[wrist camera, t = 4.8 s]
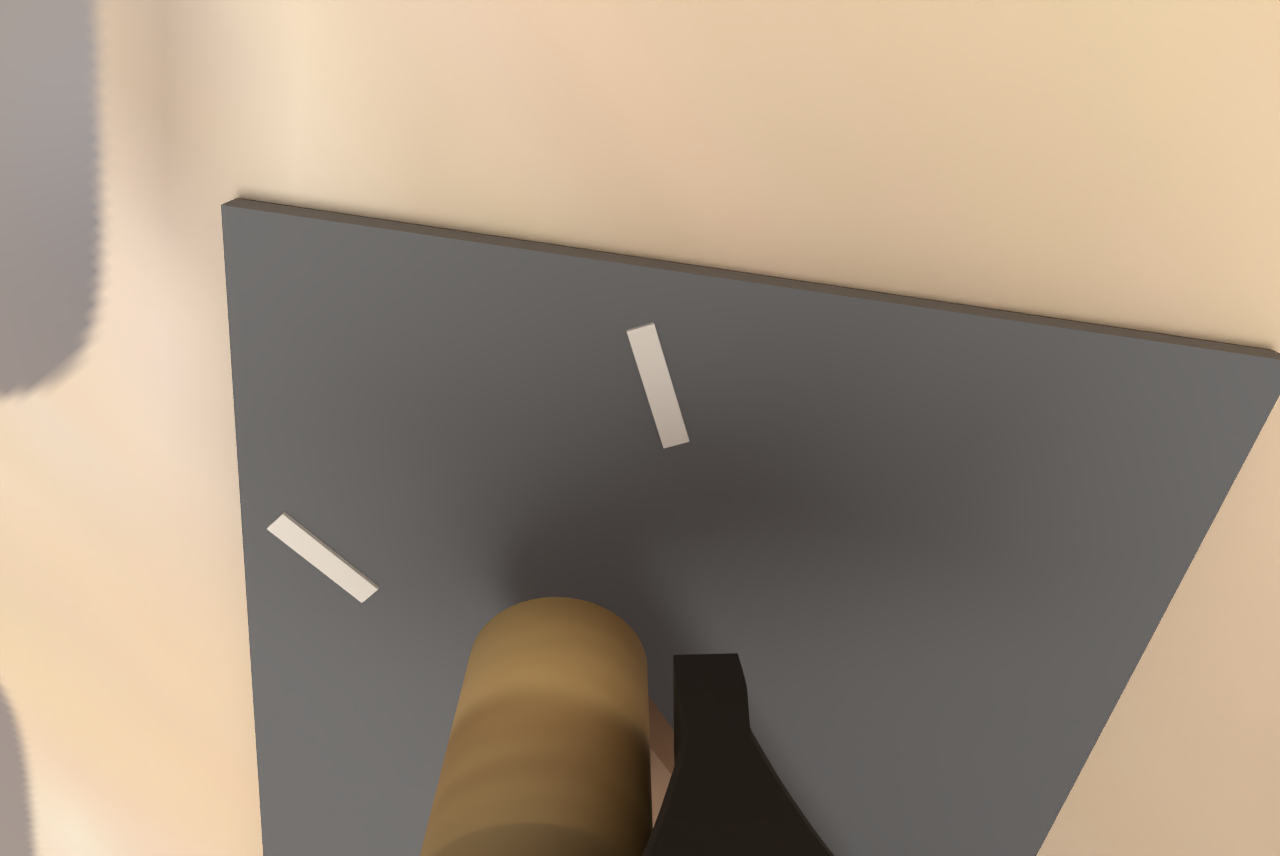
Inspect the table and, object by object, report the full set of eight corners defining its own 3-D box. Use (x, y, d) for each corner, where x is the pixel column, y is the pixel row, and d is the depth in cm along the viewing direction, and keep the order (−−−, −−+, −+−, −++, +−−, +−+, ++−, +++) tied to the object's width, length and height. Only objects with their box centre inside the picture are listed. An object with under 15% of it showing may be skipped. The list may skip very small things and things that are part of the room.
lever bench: (935, 1010, 25) (968, 1114, 22) (280, 960, 23) (241, 1066, 21) (1273, 350, 16) (1388, 407, 13) (236, 198, 14) (158, 231, 12)
